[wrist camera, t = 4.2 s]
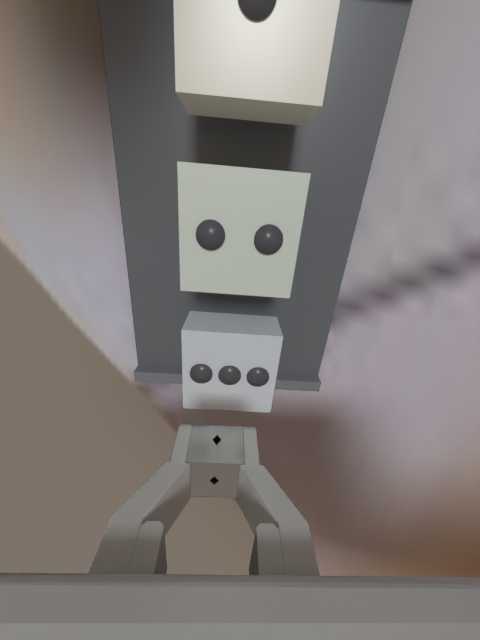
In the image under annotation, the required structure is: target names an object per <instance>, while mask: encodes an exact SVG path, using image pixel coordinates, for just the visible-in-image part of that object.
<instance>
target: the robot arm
mask: <svg viewBox="0 0 480 640" xmlns="http://www.w3.org/2000/svg"><path fill="white" fill-rule="evenodd" d="M213 496H214V497H227V498H236V500H237V501H238V503H239V505H240V507H241V509H242V511H243V513H244V515H245V517H246V519H247V521H248V523H249V525H250V527H251V529H252V531H253V533H254V535H255V538H254V544H253V549H252V554H251V560H250V565H249V575H192V574H191V575H190V574H188V575H187V574H166V573H167V560H166V546H165V535H166V534H167V532H168V530H169V529H170V528H171V526H172V525H173V523H174V522H175V520H176V519H177V517H178V516H179V514H180V513H181V511H182V510H183V508H184V507H185V505H186V504H187V502H188V501H189V499H190V497H213ZM0 640H480V577H399V576H320V573H319V569H318V565H317V561H316V556H315V552H314V548H313V543H312V539H311V535H310V530H309V526H308V523H307V521H306V520H305V519H304V517H303V516H302V515H301V514H300V512H299V511H298V510H297V508H296V507H295V506H294V504H293V503H292V502H291V500H290V499H289V498H288V496H287V495H286V494H285V493H284V491H283V490H282V489H281V487H280V486H279V485H278V483H277V482H276V481H275V479H274V478H273V477H272V475H271V474H270V473H269V472H268V470H267V469H266V468H265V466H264V465H260V461H259V451H258V442H257V432H256V428H255V427H242V426H207V425H189V424H180V426H179V427H178V431H177V435H176V440H175V443H174V447H173V451H172V455H171V459H170V462H165V464H164V465H163V466H162V467H161V468H160V469H159V470H158V471H157V472H156V473H155V474H154V475H153V476H152V477H151V478H150V479H149V480H148V481H147V482H146V483H145V484H144V485H143V486H142V487H141V488H140V489H139V490H138V491H137V492H136V493H135V494H134V495H133V496H132V497H131V498H130V499H129V500H128V501H127V502H126V503H125V504H124V505H123V506H122V507H121V508H120V509H119V510H118V511H117V513H115V514H114V515H113V516H112V518H110V522H109V523H108V526H107V529H106V531H105V534H104V536H103V538H102V541H101V543H100V546H99V548H98V551H97V553H96V556H95V558H94V561H93V563H92V566H91V568H90V571H89V573H88V574H86V573H85V574H83V573H0Z"/></svg>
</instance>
